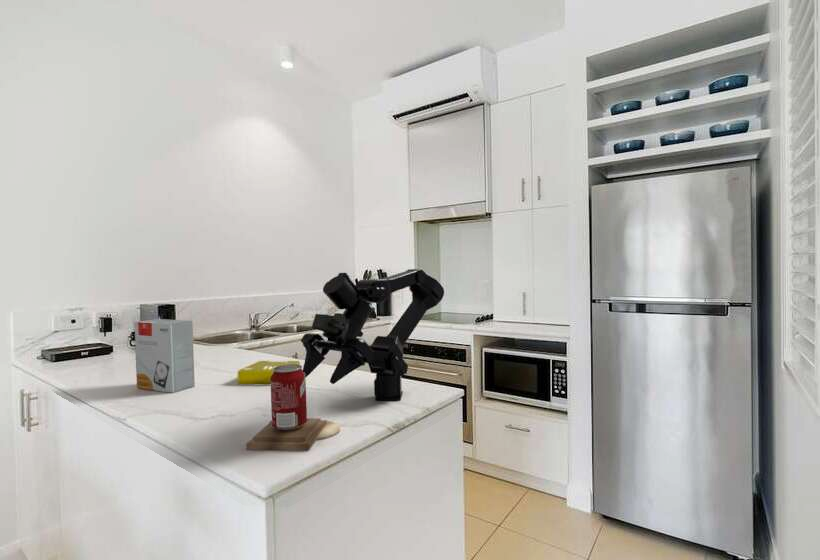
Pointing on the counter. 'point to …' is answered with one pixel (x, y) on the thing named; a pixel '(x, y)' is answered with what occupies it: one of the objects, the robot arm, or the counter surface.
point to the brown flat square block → (287, 437)
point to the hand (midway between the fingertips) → (316, 379)
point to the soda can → (288, 397)
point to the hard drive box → (164, 355)
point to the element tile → (260, 372)
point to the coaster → (329, 430)
